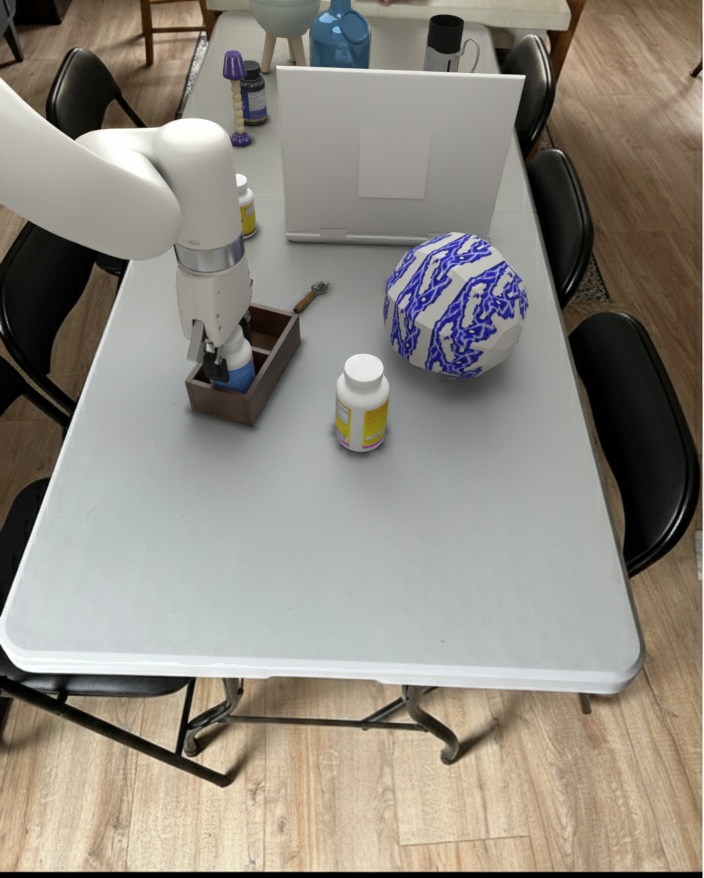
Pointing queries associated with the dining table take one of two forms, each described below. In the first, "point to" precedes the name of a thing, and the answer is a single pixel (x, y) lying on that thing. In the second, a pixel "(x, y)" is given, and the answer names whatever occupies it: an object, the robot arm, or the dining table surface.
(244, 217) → the supplement bottle
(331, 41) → the wine bottle
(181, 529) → the dining table surface
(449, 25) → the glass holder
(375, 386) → the supplement bottle
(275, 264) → the dining table surface
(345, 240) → the laptop
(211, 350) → the pill bottle
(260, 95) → the pill bottle
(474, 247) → the ornament
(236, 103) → the toy lamp
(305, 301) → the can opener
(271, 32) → the planter
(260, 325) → the caddy
